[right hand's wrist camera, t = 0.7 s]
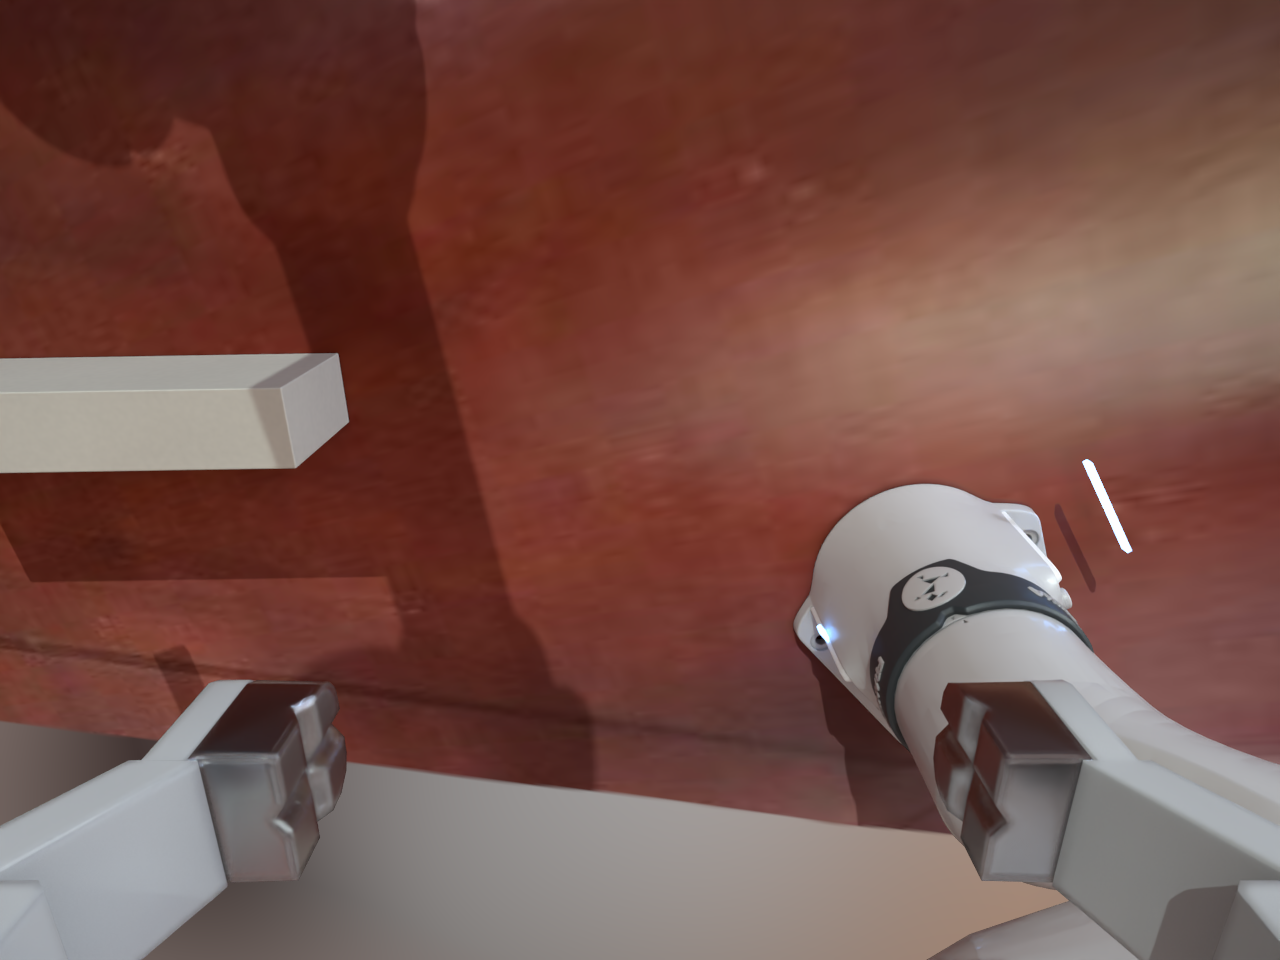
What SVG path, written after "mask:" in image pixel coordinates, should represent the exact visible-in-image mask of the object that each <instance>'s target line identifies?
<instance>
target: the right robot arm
mask: <svg viewBox="0 0 1280 960" xmlns="http://www.w3.org/2000/svg"><path fill="white" fill-rule="evenodd" d="M1083 464H1084V466H1085V468H1086V471H1087V473H1088V475H1089V477H1090V479H1091V482H1092V484H1093V486H1094V488H1095V490H1096V493H1097V495H1098V497H1099V499H1100V501H1101V504H1102V506H1103V508H1104V510H1105V512H1106V515H1107V517H1108V519H1109V521H1110V524H1111V526H1112V528H1113V530H1114V532H1115V535H1116V537H1117V539H1118V541H1119V543H1120V546H1121V548H1122V549H1123V550H1124V551H1126V552H1127V553H1128V552H1130V551H1132V550H1131V547H1130V545H1129V543H1128V541H1127V539H1126V536H1125V534H1124V532H1123V530H1122V527H1121V525H1120V523H1119V521H1118V518H1117V516H1116V514H1115V512H1114V510H1113V507H1112V505H1111V503H1110V501H1109V498H1108V496H1107V494H1106V492H1105V489H1104V487H1103V485H1102V483H1101V481H1100V478H1099V476H1098V474H1097V472H1096V469H1095V467H1094V465H1093V463H1092V462H1090V461H1089V460H1085V461H1083ZM1026 534H1027V535H1026ZM1061 579H1062V577H1061V575H1060V573H1059V571H1058V570H1057V568H1056V567H1055V566H1054V565H1053V564H1052V563H1051V562H1050V560H1049V559H1048V558H1047V555H1046V550H1045V545H1044V539H1043V534H1042V529H1041V524H1040V520H1039V518H1038V516H1037V515H1036V514H1035V513H1034V511H1033V510H1032V509H1031V508H1029V507H1027V506H1025V505H1020V504H1011V503H991V502H987V501H985V500H982V499H980V498H978V497H976V496H974V495H971V494H969V493H967V492H965V491H962V490H960V489H957V488H953V487H949V486H944V485H938V484H914V485H906V486H901V487H897V488H893V489H890V490H887V491H884V492H882V493H879V494H877V495H875V496H873V497H871V498H869V499H867V500H865V501H864V502H862V503H860V504H859V505H857V506H856V507H855V508H853V509H852V510H851V511H850V512H848V513H847V514H846V515H845V516H844V517H843V518H842V519H841V520H840V521H839V522H838V523H837V524H836V525H835V526H834V528H833V529H832V530H831V531H830V533H829V534H828V536H827V537H826V539H825V541H824V543H823V544H822V546H821V549H820V551H819V553H818V556H817V559H816V562H815V566H814V571H813V579H812V585H811V590H810V593H809V596H808V597H807V599H806V600H805V602H804V603H803V605H802V606H801V608H800V610H799V611H798V613H797V615H796V617H795V620H794V624H793V627H794V630H795V632H796V634H797V636H798V638H799V639H800V640H801V641H802V642H803V644H804V645H805V646H806V647H807V648H808V649H809V650H810V651H811V652H812V653H813V654H814V655H815V656H816V657H817V658H818V659H819V660H820V661H821V662H822V663H823V664H824V665H825V666H826V667H827V668H828V669H829V670H830V671H831V672H832V673H833V674H834V676H835V677H836V678H837V679H838V680H839V681H840V682H841V683H842V684H843V685H844V686H845V687H846V688H847V689H848V690H849V691H850V692H851V693H852V694H853V695H854V696H855V697H856V698H857V699H858V700H859V701H860V702H861V703H862V704H863V705H864V706H865V708H866V709H867V710H868V711H869V712H870V713H871V714H872V715H873V716H874V717H875V718H876V719H877V720H878V721H879V722H880V723H881V724H882V725H883V726H884V727H885V728H886V729H887V730H888V731H889V732H890V733H891V734H892V735H893V736H894V737H895V738H896V739H897V740H898V741H899V742H900V743H901V744H902V745H903V746H904V747H905V748H906V749H907V750H908V751H909V752H910V753H911V754H912V756H913V758H914V761H915V763H916V765H917V767H918V769H919V771H920V773H921V775H922V778H923V780H924V782H925V784H926V786H927V788H928V790H929V792H930V794H931V797H932V799H933V801H934V803H935V805H936V807H937V809H938V811H939V814H940V816H941V818H942V820H943V821H944V823H945V825H946V826H947V828H948V829H949V831H950V832H951V833H952V834H953V835H954V837H955V838H956V839H957V840H958V841H959V842H960V843H961V844H962V845H963V846H964V847H965V848H966V850H967V852H968V854H969V856H970V858H971V860H972V862H973V864H974V866H975V868H976V870H977V872H978V874H979V876H980V878H981V880H982V881H1017V882H1024V883H1027V884H1030V885H1034V886H1038V887H1043V888H1048V889H1053V890H1057V891H1059V892H1060V893H1061V894H1062V895H1063V896H1064V897H1066V898H1067V899H1068V900H1069V901H1068V902H1065V903H1062V904H1059V905H1056V906H1053V907H1050V908H1047V909H1044V910H1041V911H1038V912H1035V913H1032V914H1029V915H1026V916H1023V917H1020V918H1017V919H1014V920H1011V921H1008V922H1005V923H1002V924H999V925H996V926H993V927H990V928H987V929H984V930H981V931H978V932H975V933H972V934H969V935H968V936H966V937H964V938H963V939H961V940H959V941H958V942H956V943H954V944H952V945H951V946H949V947H947V948H946V949H944V950H942V951H941V952H939V953H937V954H936V955H934V956H932V957H931V958H929V959H927V960H1280V765H1279V764H1276V763H1272V762H1269V761H1266V760H1263V759H1260V758H1257V757H1255V756H1252V755H1249V754H1246V753H1244V752H1241V751H1238V750H1235V749H1233V748H1230V747H1228V746H1225V745H1223V744H1221V743H1218V742H1216V741H1213V740H1211V739H1208V738H1206V737H1204V736H1202V735H1200V734H1198V733H1195V732H1193V731H1191V730H1189V729H1187V728H1185V727H1183V726H1182V725H1180V724H1178V723H1176V722H1175V721H1173V720H1171V719H1169V718H1168V717H1166V716H1165V715H1163V714H1162V713H1160V712H1159V711H1157V710H1156V709H1155V708H1154V707H1152V706H1151V705H1150V704H1149V703H1147V702H1146V701H1145V700H1144V699H1143V698H1142V697H1141V696H1139V695H1138V694H1137V693H1136V692H1135V691H1134V690H1132V689H1131V688H1130V687H1129V686H1128V685H1127V684H1126V683H1125V682H1124V681H1122V680H1121V679H1120V678H1119V677H1118V676H1117V675H1116V674H1115V673H1114V672H1113V671H1111V670H1110V669H1109V668H1108V667H1107V666H1106V665H1105V664H1104V663H1103V662H1102V661H1101V660H1100V659H1099V658H1098V657H1097V656H1096V655H1095V654H1094V652H1093V648H1092V645H1091V643H1090V641H1089V640H1088V638H1087V637H1086V635H1085V634H1084V632H1083V631H1082V629H1081V628H1080V627H1079V626H1078V624H1077V621H1076V620H1075V619H1074V618H1073V616H1072V615H1071V614H1070V613H1069V612H1068V611H1067V610H1066V609H1068V608H1071V607H1072V602H1071V599H1070V596H1069V595H1068V593H1067V591H1066V590H1065V589H1064V588H1060V587H1059V584H1058V583H1059V582H1060V581H1061ZM819 635H821V636H822V637H823V638H822V639H816V637H817V636H819ZM339 709H340V708H339V703H338V698H337V693H336V688H335V687H334V686H333V685H332V684H331V683H330V682H323V681H276V680H256V681H252V680H218V681H215V682H211V683H209V684H208V685H207V686H206V687H205V688H204V689H203V691H202V692H201V693H200V694H199V695H198V696H197V697H196V698H195V700H194V701H193V702H192V703H191V704H190V705H189V706H188V708H187V709H186V710H185V711H184V712H183V713H182V714H181V716H180V717H179V718H178V719H177V720H176V721H175V722H174V724H173V725H172V726H171V727H170V728H169V729H168V730H167V732H166V733H165V734H164V735H163V736H162V737H161V738H160V740H159V741H158V742H157V743H156V744H155V745H154V746H153V747H152V749H151V750H150V751H149V752H148V753H147V754H146V756H145V757H144V758H143V759H142V760H129V761H127V762H125V763H123V764H121V765H119V766H117V767H115V768H113V769H111V770H109V771H107V772H105V773H103V774H101V775H99V776H97V777H95V778H93V779H91V780H89V781H87V782H85V783H84V784H82V785H80V786H78V787H76V788H74V789H72V790H70V791H68V792H66V793H64V794H62V795H60V796H58V797H56V798H54V799H52V800H50V801H48V802H46V803H44V804H42V805H40V806H38V807H36V808H34V809H32V810H30V811H29V812H27V813H25V814H23V815H21V816H19V817H17V818H15V819H13V820H11V821H9V822H7V823H5V824H3V825H1V826H0V960H142V959H143V958H144V957H145V956H146V955H148V954H149V953H150V952H151V951H152V950H153V949H155V948H156V947H157V946H158V945H159V944H161V943H162V942H163V941H164V940H165V939H166V938H168V937H169V936H170V935H171V934H172V933H173V932H175V931H176V930H177V929H178V928H179V927H181V926H182V925H183V924H184V923H185V922H186V921H188V920H189V919H190V918H191V917H192V916H194V915H195V914H196V913H197V912H198V911H199V910H201V909H202V908H203V907H204V906H205V905H206V904H208V903H209V902H210V901H211V900H212V899H214V898H215V897H216V896H217V895H218V894H219V893H221V892H222V891H223V890H224V889H225V888H226V887H227V886H228V884H227V883H229V882H263V881H297V880H299V878H300V876H301V874H302V872H303V870H304V868H305V866H306V864H307V862H308V860H309V858H310V856H311V854H312V852H313V850H314V848H315V846H316V844H317V842H318V840H319V838H320V835H319V830H318V824H317V822H318V821H319V820H320V819H322V818H323V817H325V816H326V815H327V814H329V813H330V812H332V811H333V810H334V808H335V805H336V803H337V801H338V799H339V797H340V795H341V792H342V787H343V783H344V779H345V774H346V755H347V752H346V745H345V738H344V736H343V735H342V734H341V733H340V732H339V731H338V730H337V729H336V728H335V727H334V726H333V725H332V724H331V723H332V722H333V720H334V718H335V716H336V715H337V713H338V711H339Z"/></svg>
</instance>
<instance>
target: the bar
mask: <svg viewBox="0 0 1280 960" xmlns="http://www.w3.org/2000/svg"><path fill="white" fill-rule="evenodd" d="M347 423H349V418H348V412H347V406H346V399H345V393H344V387H343V380H342V374H341V368H340V362H339V355H338V353H316V354H256V355H196V356H136V357H76V358H15V359H0V473H36V472H97V471H159V470H220V469H282V468H297V467H298V466H299V465H300V464H301V463H302V462H304V461H305V460H306V459H307V458H308V457H309V456H311V455H312V454H313V453H314V452H315V451H316V450H317V449H319V448H320V447H321V446H322V445H323V444H324V443H325V442H327V441H328V440H329V439H330V438H331V437H332V436H334V435H335V434H336V433H337V432H338V431H339V430H340V429H342V428H343V427H344V426H345V425H346V424H347Z"/></svg>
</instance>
